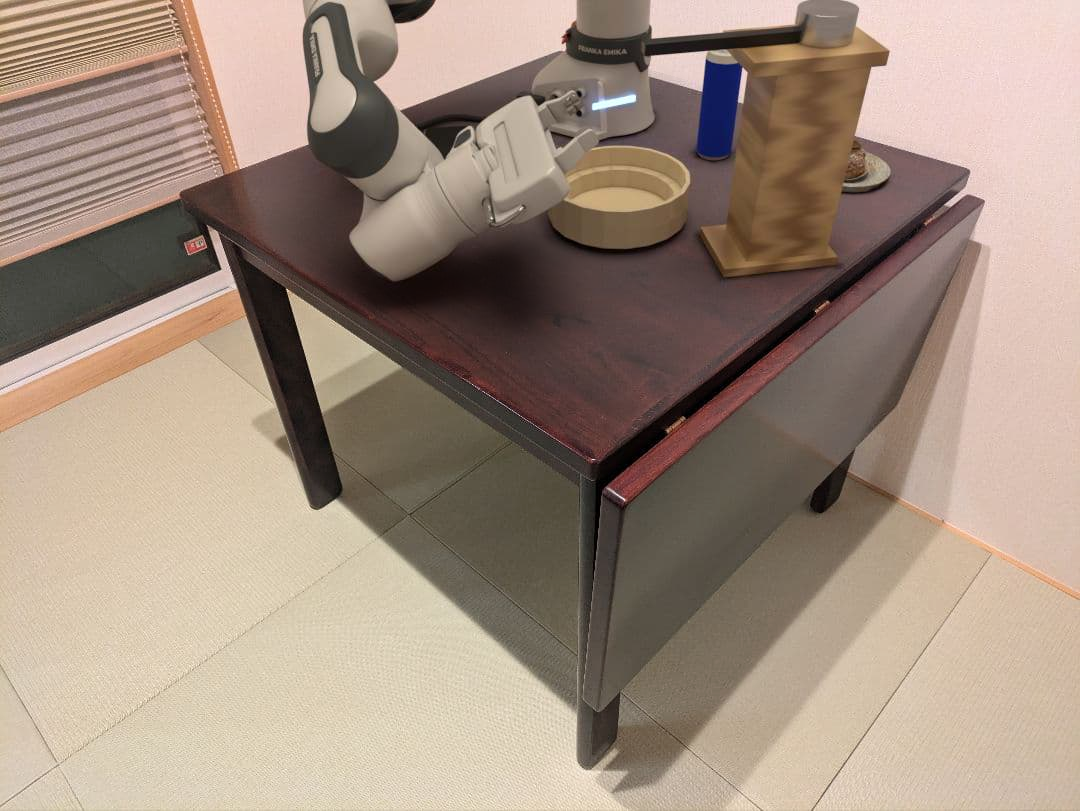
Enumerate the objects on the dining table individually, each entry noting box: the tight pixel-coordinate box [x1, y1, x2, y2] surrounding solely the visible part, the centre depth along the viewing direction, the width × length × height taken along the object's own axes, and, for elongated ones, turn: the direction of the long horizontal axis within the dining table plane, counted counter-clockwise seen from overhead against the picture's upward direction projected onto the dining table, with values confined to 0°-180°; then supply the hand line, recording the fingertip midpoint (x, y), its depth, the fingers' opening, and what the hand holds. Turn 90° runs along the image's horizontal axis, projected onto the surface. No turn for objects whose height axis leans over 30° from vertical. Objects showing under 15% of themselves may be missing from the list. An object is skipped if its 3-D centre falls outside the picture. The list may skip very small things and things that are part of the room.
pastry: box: [841, 140, 892, 193], centre depth 111 cm, size 12×12×5 cm
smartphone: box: [423, 125, 468, 159], centre depth 122 cm, size 7×1×15 cm
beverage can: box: [695, 49, 744, 161], centre depth 114 cm, size 5×5×15 cm
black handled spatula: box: [641, 0, 860, 57], centre depth 80 cm, size 22×6×3 cm, turn 98°
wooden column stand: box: [699, 24, 891, 278], centre depth 90 cm, size 14×10×25 cm
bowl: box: [547, 145, 691, 250], centre depth 104 cm, size 18×18×6 cm
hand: (586, 114), depth 84 cm, fingers open, 8 cm apart
